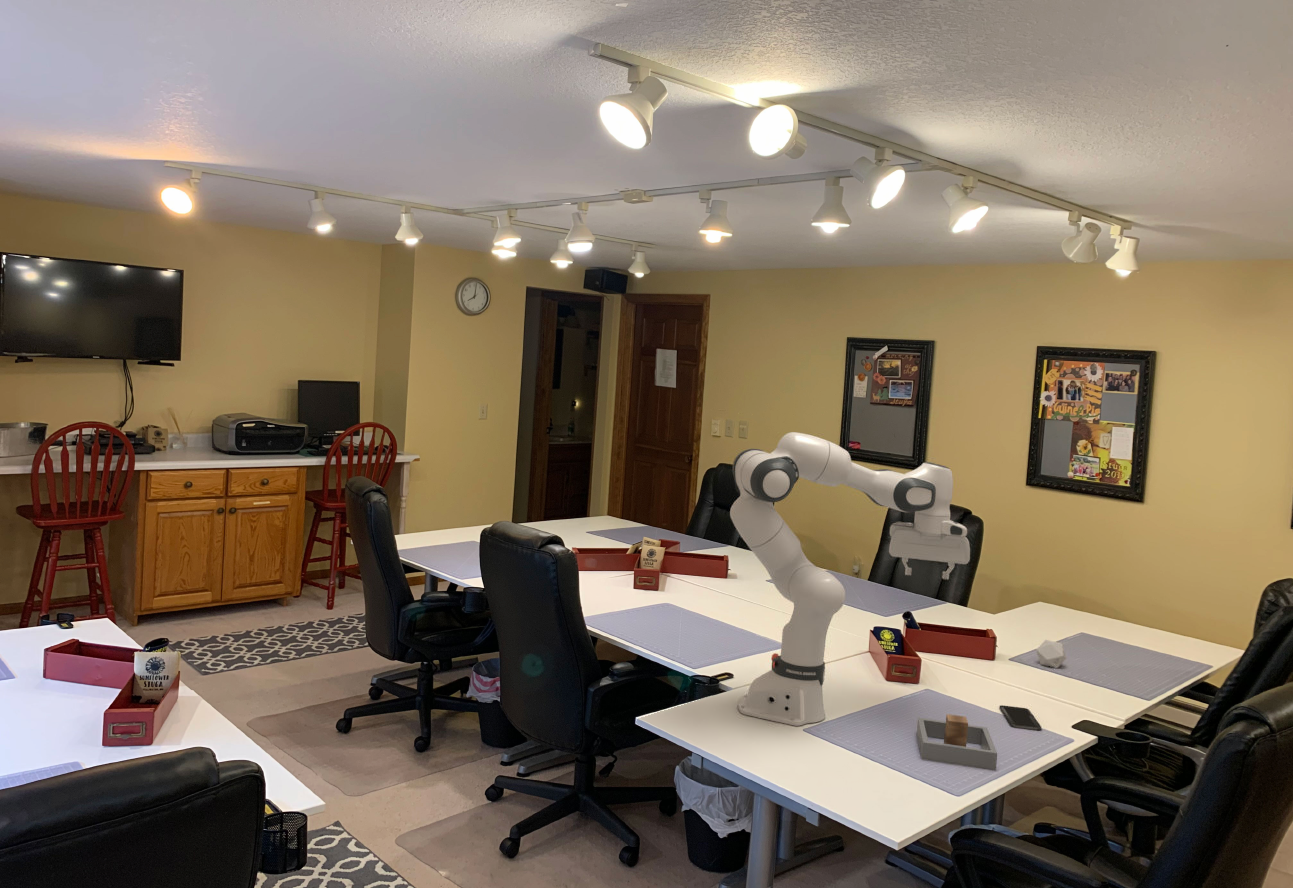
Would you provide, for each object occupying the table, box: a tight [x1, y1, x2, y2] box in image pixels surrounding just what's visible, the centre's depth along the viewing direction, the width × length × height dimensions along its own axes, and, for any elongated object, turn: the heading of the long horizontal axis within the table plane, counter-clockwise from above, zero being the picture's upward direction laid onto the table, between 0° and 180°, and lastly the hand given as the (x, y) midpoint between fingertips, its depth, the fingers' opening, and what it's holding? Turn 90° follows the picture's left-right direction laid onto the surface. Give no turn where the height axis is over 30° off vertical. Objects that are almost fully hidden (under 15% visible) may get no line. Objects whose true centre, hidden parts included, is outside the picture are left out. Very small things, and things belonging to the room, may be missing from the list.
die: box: [1035, 639, 1067, 669], centre depth 296 cm, size 8×9×10 cm
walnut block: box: [943, 713, 969, 747], centre depth 219 cm, size 4×4×8 cm
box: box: [916, 717, 998, 771], centre depth 220 cm, size 16×16×4 cm
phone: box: [998, 704, 1042, 732], centre depth 245 cm, size 8×1×15 cm
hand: (926, 576), depth 240 cm, fingers open, 8 cm apart
